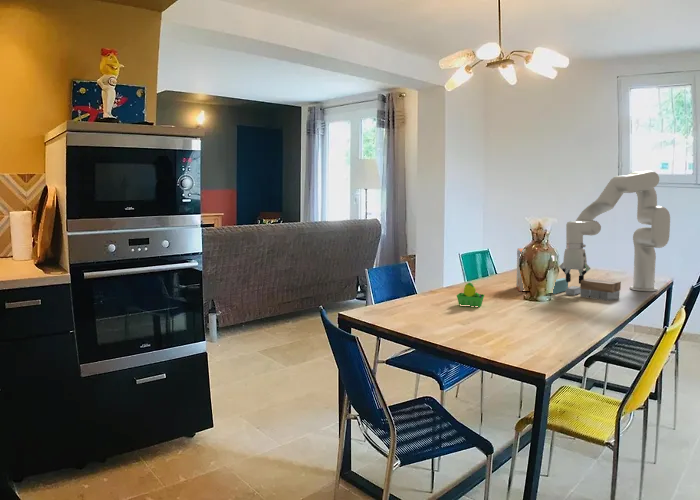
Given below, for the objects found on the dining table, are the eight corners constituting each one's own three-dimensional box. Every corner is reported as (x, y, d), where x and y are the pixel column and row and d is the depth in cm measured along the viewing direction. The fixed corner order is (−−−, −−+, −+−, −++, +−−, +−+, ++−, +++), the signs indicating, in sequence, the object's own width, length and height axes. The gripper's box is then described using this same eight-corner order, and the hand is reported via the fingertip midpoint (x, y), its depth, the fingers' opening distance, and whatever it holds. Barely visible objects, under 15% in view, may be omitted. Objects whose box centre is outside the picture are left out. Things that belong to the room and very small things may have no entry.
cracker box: (531, 292, 276) (532, 251, 273) (518, 291, 277) (519, 251, 274) (527, 287, 289) (528, 248, 287) (516, 286, 290) (516, 247, 288)
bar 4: (611, 297, 260) (611, 289, 260) (619, 298, 257) (619, 290, 257) (599, 299, 256) (599, 291, 255) (607, 300, 252) (607, 292, 252)
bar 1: (572, 292, 274) (572, 285, 273) (580, 293, 271) (580, 286, 271) (565, 294, 268) (566, 288, 268) (573, 295, 265) (574, 289, 265)
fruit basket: (484, 305, 247) (485, 280, 246) (480, 309, 239) (481, 284, 238) (460, 303, 252) (460, 279, 251) (455, 307, 244) (455, 282, 243)
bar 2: (587, 294, 269) (587, 286, 268) (595, 295, 266) (595, 287, 266) (580, 297, 262) (580, 289, 262) (588, 298, 259) (589, 289, 259)
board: (588, 286, 268) (589, 278, 267) (620, 290, 257) (620, 281, 256) (580, 288, 262) (580, 280, 262) (612, 292, 251) (612, 284, 250)
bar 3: (599, 295, 264) (599, 287, 264) (607, 296, 262) (607, 288, 261) (590, 298, 259) (590, 290, 258) (599, 299, 256) (599, 291, 255)
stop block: (562, 289, 281) (562, 277, 280) (567, 290, 279) (568, 278, 278) (548, 293, 272) (548, 281, 271) (554, 294, 269) (554, 282, 269)
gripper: (595, 246, 263) (595, 283, 265) (561, 244, 276) (561, 279, 278) (588, 248, 258) (588, 285, 260) (554, 246, 271) (554, 282, 273)
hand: (574, 282), depth 269 cm, fingers open, 5 cm apart
